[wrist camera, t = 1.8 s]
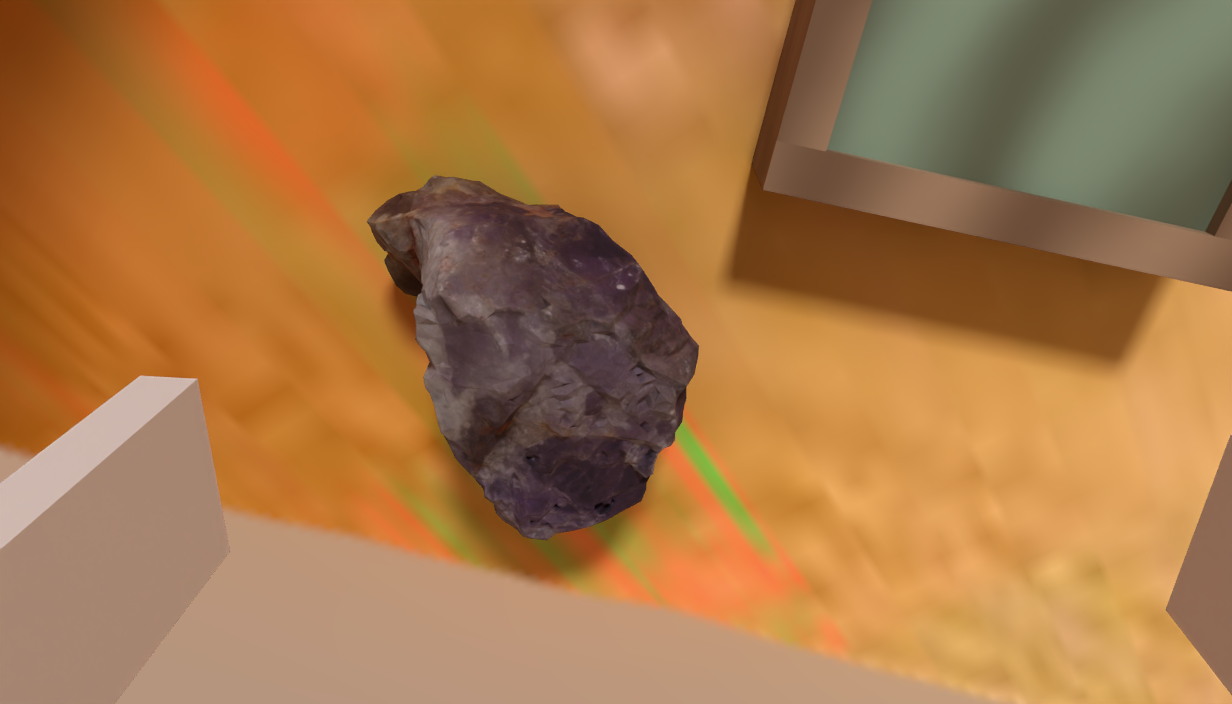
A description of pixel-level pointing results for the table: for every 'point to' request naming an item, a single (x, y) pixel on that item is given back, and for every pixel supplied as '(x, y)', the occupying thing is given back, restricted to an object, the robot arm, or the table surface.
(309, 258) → the table surface
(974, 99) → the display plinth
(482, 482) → the rock
